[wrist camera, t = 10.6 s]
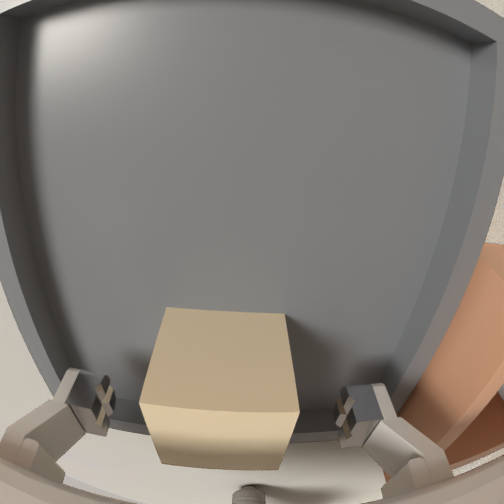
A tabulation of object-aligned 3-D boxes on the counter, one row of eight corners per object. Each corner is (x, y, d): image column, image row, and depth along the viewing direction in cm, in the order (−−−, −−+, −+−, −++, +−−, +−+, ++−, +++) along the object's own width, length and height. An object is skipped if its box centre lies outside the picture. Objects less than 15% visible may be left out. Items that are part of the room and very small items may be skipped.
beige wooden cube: (166, 307, 10) (138, 402, 7) (284, 313, 11) (299, 411, 7) (175, 380, 12) (161, 463, 9) (271, 386, 12) (278, 469, 9)
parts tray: (13, 4, 5) (-19, -2, 4) (483, 30, 6) (517, 27, 5) (76, 391, 14) (66, 417, 12) (374, 407, 15) (382, 433, 13)
